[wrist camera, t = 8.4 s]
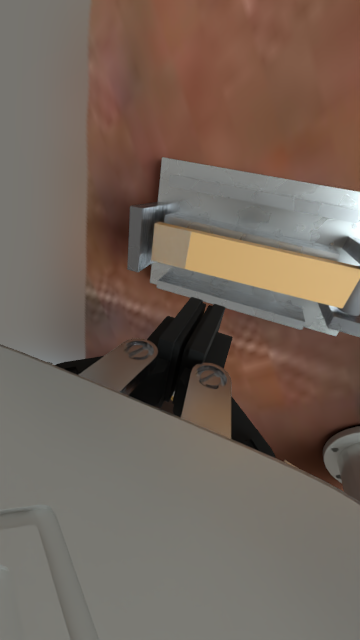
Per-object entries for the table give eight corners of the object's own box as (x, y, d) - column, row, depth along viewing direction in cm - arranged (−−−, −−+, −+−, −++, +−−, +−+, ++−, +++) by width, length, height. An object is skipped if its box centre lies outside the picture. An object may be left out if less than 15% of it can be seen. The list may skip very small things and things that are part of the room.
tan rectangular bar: (381, 267, 17) (391, 274, 16) (355, 308, 19) (362, 317, 18) (160, 218, 20) (153, 221, 18) (156, 258, 22) (149, 263, 20)
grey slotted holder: (405, 201, 19) (477, 208, 12) (331, 326, 25) (353, 376, 19) (169, 159, 23) (128, 148, 16) (156, 277, 29) (123, 304, 22)
